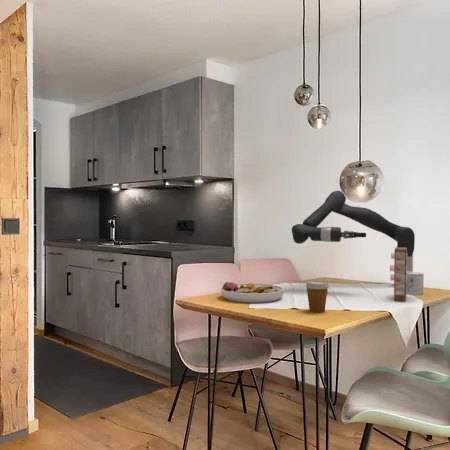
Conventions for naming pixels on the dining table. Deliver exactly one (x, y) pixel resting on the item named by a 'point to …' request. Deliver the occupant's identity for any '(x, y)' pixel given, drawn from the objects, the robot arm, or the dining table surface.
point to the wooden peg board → (400, 274)
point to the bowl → (251, 292)
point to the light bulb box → (414, 283)
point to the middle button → (393, 267)
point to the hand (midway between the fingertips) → (365, 235)
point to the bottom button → (393, 277)
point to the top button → (394, 255)
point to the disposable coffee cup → (317, 295)
